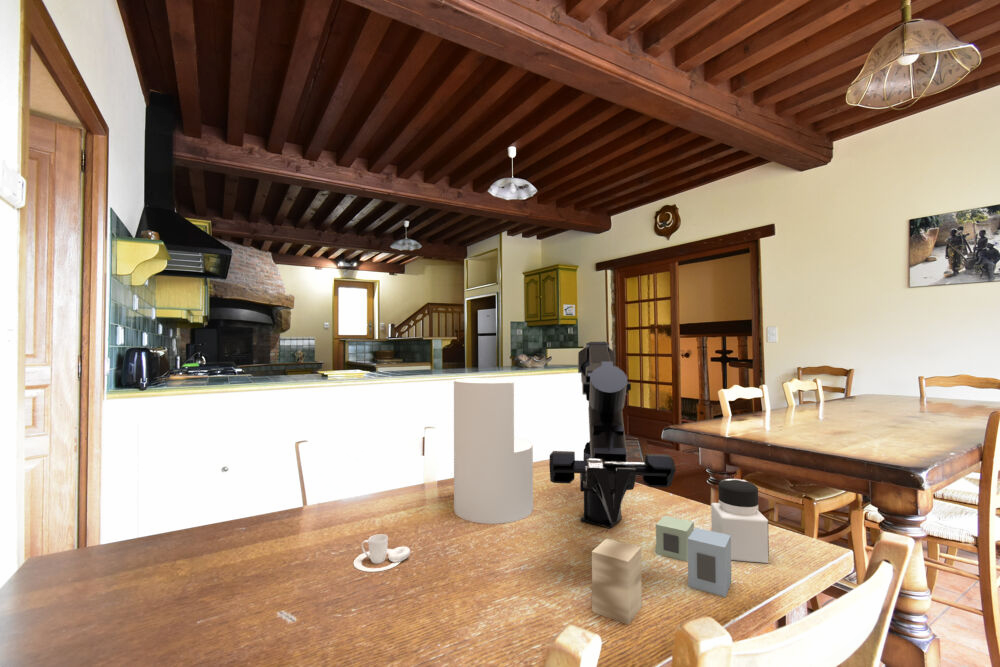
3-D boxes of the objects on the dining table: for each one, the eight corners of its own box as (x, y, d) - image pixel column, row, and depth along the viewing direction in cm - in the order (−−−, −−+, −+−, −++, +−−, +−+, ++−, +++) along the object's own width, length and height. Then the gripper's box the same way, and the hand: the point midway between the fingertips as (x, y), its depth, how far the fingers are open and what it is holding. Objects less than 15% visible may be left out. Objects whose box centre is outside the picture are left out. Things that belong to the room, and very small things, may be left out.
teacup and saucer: (416, 556, 78) (416, 532, 78) (390, 579, 70) (390, 552, 70) (372, 548, 81) (372, 525, 81) (343, 570, 73) (343, 544, 73)
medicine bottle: (769, 564, 74) (768, 489, 74) (722, 560, 75) (721, 487, 75) (754, 545, 81) (753, 477, 81) (711, 541, 82) (710, 474, 82)
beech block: (592, 611, 61) (591, 551, 61) (606, 595, 65) (606, 538, 65) (628, 625, 58) (628, 561, 58) (641, 606, 62) (641, 547, 62)
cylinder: (476, 530, 87) (475, 384, 88) (441, 503, 102) (441, 379, 103) (549, 513, 96) (548, 380, 97) (507, 490, 111) (506, 376, 112)
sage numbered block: (655, 554, 77) (655, 524, 77) (664, 543, 82) (664, 515, 82) (686, 562, 74) (686, 531, 75) (694, 550, 79) (693, 521, 79)
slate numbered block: (687, 587, 67) (687, 539, 67) (695, 572, 71) (695, 527, 71) (725, 598, 64) (724, 548, 64) (731, 582, 68) (730, 535, 68)
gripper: (657, 457, 81) (672, 548, 69) (552, 453, 83) (550, 541, 72) (667, 420, 73) (685, 517, 62) (550, 418, 75) (548, 510, 64)
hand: (614, 522), depth 65 cm, fingers closed
